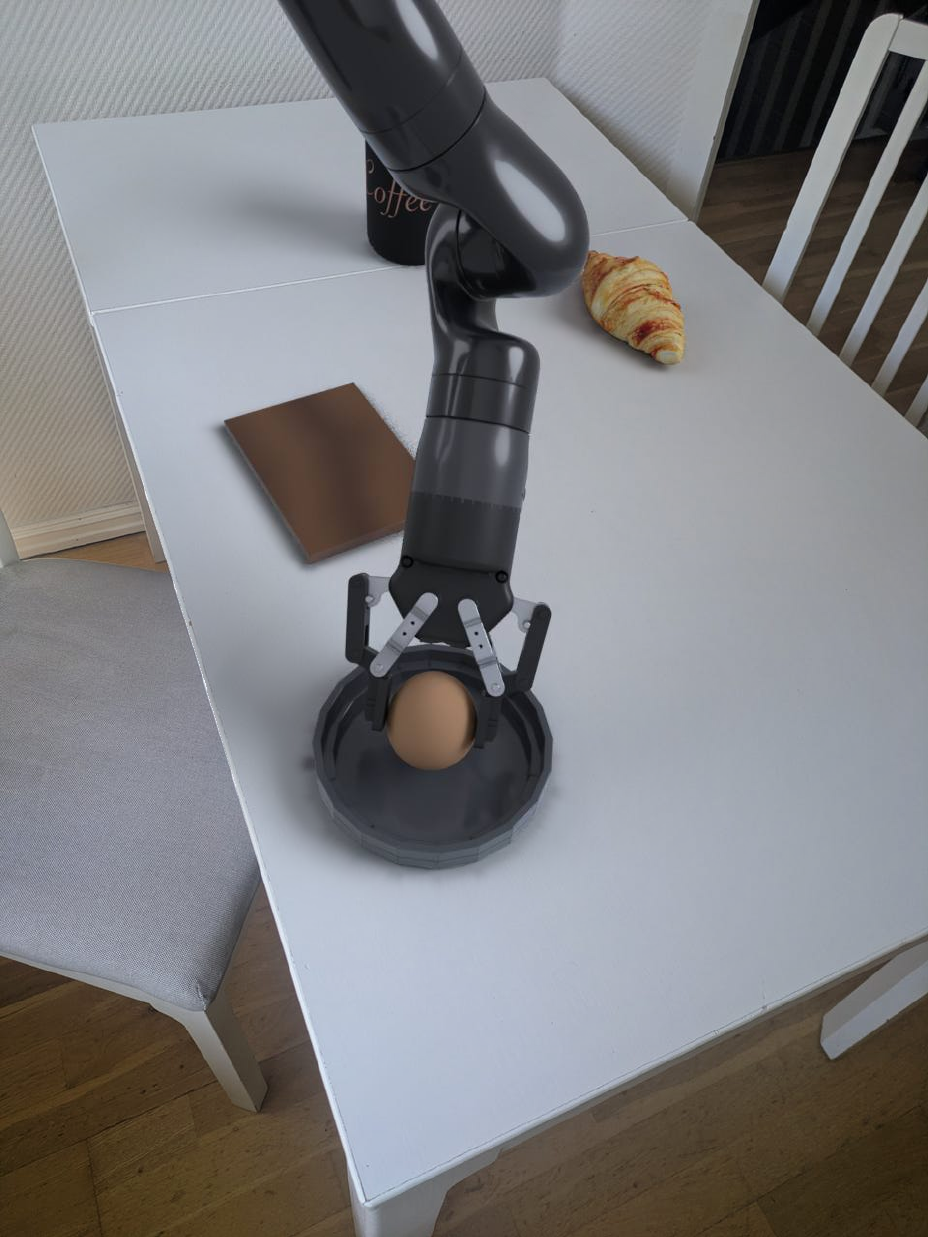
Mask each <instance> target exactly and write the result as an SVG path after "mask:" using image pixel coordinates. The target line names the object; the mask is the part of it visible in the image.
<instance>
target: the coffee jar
mask: <svg viewBox="0 0 928 1237" xmlns="http://www.w3.org/2000/svg"><path fill="white" fill-rule="evenodd" d="M364 144H365V145H364V150H365V151H364V152H365V157H364V158H365V160H364V161H365V199H366V200H365V202H366V205H365V206H366V235H367V239H368V243H369V244H370V246H371V247H372V249H373V250H374V251H375V253H377V255H378V256H379V257H381V258H383V259H384V260H386V261H388V262H391V263H393V264H397V265H404V266H423V265H425V242H426V236H427V231H428V227H429V224H430V221H431V219H432V216H433V214H434V212H435V210H436V209H437V207H438V205H439V203H433V202H428V201H424V200H421V199H418V198H415V197H413V196H412V195H410V194H408V193H407V192H406V191H405V190H404V189H403V188H402V187H401V186H400V185H399V184H398V183H397V182H396V181H395V179H394V178H393V177H392V175H391V174H390V173H389V171H388V170H387V168H386V167H385V166H384V164H383V163H382V162H381V160H380V159H379V157H378V156H377V155H376V153H375V152H374V151H373V149H372V148H371V146H370V145H369V144H368V142H367V141H366V139H365V138H364Z"/></svg>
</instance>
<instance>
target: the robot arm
mask: <svg viewBox="0 0 928 1237" xmlns="http://www.w3.org/2000/svg"><path fill="white" fill-rule="evenodd" d="M276 1H277V3H278V4H279V6H280V8H281V10H282V11H283V13H284V15H285V17H286V19H287V20H288V22H289V24H290V25H291V27H292V28H293V30H294V32H295V33H296V35H297V37H298V39H299V40H300V42H301V43H302V46H303V47H304V49H305V50H306V52H307V54H308V55H309V57H310V59H311V60H312V62H313V63H314V65H315V67H316V68H317V70H318V72H319V73H320V75H321V76H322V78H323V79H324V81H325V82H326V84H327V86H328V87H329V89H330V90H331V93H332V94H333V96H335V98H336V100H337V101H338V102H339V104H340V105H341V107H342V108H343V110H344V111H345V113H346V114H347V116H348V117H349V119H350V120H351V121H352V123H353V124H354V126H355V127H356V129H357V130H358V131H359V132H360V134H361V135H362V137H363V138H364V140H365V139H366V141H367V142H368V144H369V145H370V146H371V148H372V149H373V151H374V152H375V153H376V155H377V156H378V157H379V159H380V160H381V162H382V163H383V164H384V166H385V167H386V168H387V170H388V171H389V173H390V174H391V175H392V177H393V178H394V179H395V181H396V182H397V183H398V184H399V185H400V186H401V187H402V188H403V189H404V190H405V191H406V192H407V193H408V194H410V195H412V196H413V197H415V198H418V199H421V200H424V201H428V202H433V203H439V205H438V207H437V209H436V210H435V212H434V214H433V216H432V219H431V221H430V224H429V227H428V231H427V236H426V242H425V264H424V266H425V277H426V284H427V285H426V286H427V297H428V306H429V318H430V319H429V320H430V328H431V335H432V346H433V357H434V358H433V364H432V369H431V370H432V371H431V377H430V383H429V390H428V396H427V402H426V403H427V404H426V410H425V415H424V416H425V419H424V422H423V427H422V430H421V434H420V437H419V441H418V444H417V448H416V452H415V457H414V460H415V463H414V470H413V476H412V483H411V490H410V496H409V503H408V509H407V516H406V523H405V530H403V537H402V543H401V550H400V556H399V562H398V565H397V567H396V569H395V571H394V572H393V573H392V575H391V576H380V575H379V576H378V575H370V574H368V573H367V572H359V573H357V574H353V575H351V577H349V579H348V582H347V598H346V599H347V601H346V602H347V603H346V624H345V642H344V643H345V644H344V645H345V647H344V648H345V649H344V656H345V659H346V660H347V662H349V663H350V664H356V665H358V666H361V667H363V668H364V669H365V670H366V671H367V672H368V674H369V683H368V690H367V696H366V703H365V710H364V715H365V719H366V721H372V730H374V731H380V732H382V731H383V729H384V727H385V724H386V719H387V711H388V705H389V699H390V692H391V686H392V679H393V674H390V671H391V667H392V666H393V664H394V663H395V662H396V660H397V659H398V658H399V656H400V655H401V654H402V652H403V651H404V650H405V648H406V647H407V646H410V644H411V642H412V641H413V639H414V638H415V639H417V640H418V641H419V643H423V644H441V643H442V644H444V645H447V646H452V647H454V648H460V649H466V648H467V649H469V648H471V650H472V651H473V653H474V656H475V659H476V662H477V664H478V666H479V668H480V671H481V674H482V677H483V680H484V683H485V686H486V690H483V692H482V697H481V704H480V710H479V716H478V722H477V728H476V734H475V741H474V747H473V748H478V749H483V748H484V742H485V741H488V742H492V741H493V740H494V738H495V736H496V733H497V727H498V721H499V715H500V709H501V703H502V699H503V697H504V696H505V695H507V694H508V693H512V692H517V691H521V692H527V691H529V690H531V689H532V688H533V685H534V681H535V678H536V674H537V670H538V667H539V662H540V659H541V656H542V652H543V648H544V645H545V641H546V638H547V634H548V631H549V626H550V623H551V621H552V620H551V619H552V616H553V614H552V609H551V607H550V605H549V604H547V603H546V602H544V601H539V602H534V601H530V600H526V599H522V598H519V597H515V596H514V593H513V589H512V587H511V578H512V577H511V576H512V570H513V564H514V559H515V552H516V546H517V545H516V544H517V541H518V540H517V539H518V533H519V529H520V528H519V527H520V522H521V514H522V509H523V503H524V500H525V497H526V494H527V493H526V490H527V489H526V484H527V479H528V471H529V448H530V437H531V435H530V434H531V430H532V424H533V418H534V412H535V406H536V401H537V400H536V399H537V394H538V388H539V382H540V374H541V357H540V354H539V351H538V350H537V348H536V347H535V346H534V344H532V343H531V342H529V341H527V340H526V339H525V338H522V337H520V336H517V335H515V334H512V333H509V332H505V331H502V330H499V326H498V321H497V314H496V313H497V312H496V304H497V300H498V299H499V300H500V299H501V300H502V299H504V300H505V299H541V298H548V297H553V296H557V295H559V294H561V293H563V292H565V291H567V290H569V289H570V288H571V287H572V286H573V285H574V283H575V282H576V281H578V279H579V278H580V276H582V274H583V272H584V266H585V264H586V261H587V258H588V253H589V251H590V241H591V235H590V233H591V232H590V226H589V220H588V217H587V216H588V215H587V212H586V209H585V207H584V204H583V202H582V199H581V198H580V195H579V193H578V191H577V189H576V188H575V186H574V185H573V183H572V182H571V180H570V179H569V177H568V176H567V175H566V174H565V172H564V171H563V170H562V169H561V168H560V166H559V165H558V164H557V163H556V162H555V161H554V160H553V159H552V158H551V157H550V156H549V155H548V154H547V153H546V152H545V151H544V150H543V149H542V148H541V147H540V146H539V145H538V144H537V143H536V142H535V141H534V140H533V139H532V138H531V137H530V136H529V135H528V134H527V133H526V132H525V131H524V130H523V128H522V127H521V126H520V125H519V124H518V123H516V122H515V121H514V120H513V118H511V117H510V116H509V115H507V113H505V112H504V111H503V110H502V109H501V108H499V106H498V105H497V104H496V103H495V101H494V100H493V98H492V97H491V95H490V93H489V91H488V89H487V87H486V85H485V84H484V82H483V80H482V78H481V76H480V75H479V73H478V71H477V69H476V67H475V65H474V64H473V62H472V60H471V58H470V57H469V55H468V53H467V51H466V49H465V48H464V45H462V42H461V41H460V39H459V37H458V36H457V34H456V31H455V30H454V29H453V27H452V25H451V23H450V22H449V20H448V18H447V17H446V15H445V13H444V11H443V9H442V8H441V6H440V5H439V3H438V2H437V0H276ZM387 592H389V595H390V597H391V599H392V601H393V603H394V605H395V607H396V609H397V610H398V612H399V614H400V616H401V618H402V622H401V623H400V624H399V625H398V626H397V628H396V629H395V631H394V632H393V633H392V635H391V636H390V637H389V639H388V640H387V641H386V643H385V644H384V646H383V647H382V648H381V649H380V651H378V650H377V649H375V648H373V647H372V646H370V627H371V626H370V625H371V610H372V609H371V608H375V607H376V606H377V605H379V604H380V602H381V601H382V596H383V595H384V594H385V593H387ZM511 612H512V613H513V614H515V615H516V617H517V627H518V629H519V631H520V632H522V633H523V634H524V633H525V637H524V639H523V643H522V647H521V650H520V655H519V658H518V662H517V664H516V669H515V670H510V672H504V673H503V672H502V669H501V667H500V664H499V662H500V661H499V658H498V655H497V651H496V648H495V646H494V642H493V639H492V636H491V634H490V632H492V630H494V629H495V628H496V627H497V626H498V625H499V624H500V623H501V622H502V621H503V620H504V619H505V618H506V617H507V616H508V615H509V614H510V613H511Z"/></svg>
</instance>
